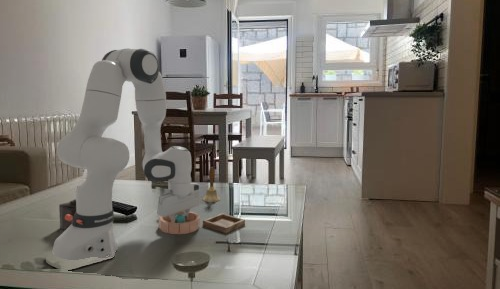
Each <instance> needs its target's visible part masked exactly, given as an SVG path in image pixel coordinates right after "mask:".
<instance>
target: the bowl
mask: <svg viewBox="0 0 500 289" xmlns="http://www.w3.org/2000/svg"><path fill="white" fill-rule="evenodd" d="M178 214H181V215H183V214H184V211H182V212H179V213H176V214H175V216H176V215H178ZM175 216H174V218H175ZM200 220H201V216H200V215H199V214H198V213H196V212H194V211H191V210H190V212H189V214H188V219H187V220H185V223H171V219H170V217H169V216H167V217H161V216H159V217H158V228H159V231H161V232H163V233H166V234H169V235H187V234H191V233H194V232H196V231H197V230H199V229H200V226H201V225H200V224H201V221H200Z"/></svg>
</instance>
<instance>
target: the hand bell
mask: <svg viewBox="0 0 500 289" xmlns="http://www.w3.org/2000/svg"><path fill="white" fill-rule="evenodd" d="M208 176H209V187H208V188H207V189H206V193H205V195H204V197H203V198H202V200H203V202H206V203H217V202H219V201H220V200H221V198H220V197H219V196H218V193H217V192H218V191H217V188H215V187H214V179H215V169H214V166H211V167H210V168H209V172H208Z"/></svg>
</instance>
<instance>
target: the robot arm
mask: <svg viewBox="0 0 500 289" xmlns="http://www.w3.org/2000/svg"><path fill="white" fill-rule="evenodd" d="M90 70H91V71H90V73H89V75H88V79H87V82H86V87H85V92H84V98H83V102H82V107H81V111H80V114H79V117H78V119H77V121H76V123H75V124H74V126H73V127H72V129H71V130H70V132H68V133H66V135H65V136H63V137H62V138H61V139H60V140H59V142H58V143H57V146H56V147H57V148H56V155H57V158H58V159H59V160H60V161H61V162H62V163H63V164H66V165H68V166H70V167H72V168H78V169H84V170H86V171H87V173H86V178H85V180H84V181H83V182H81V183H80V184H79V185H78V187H76V190H75V199H76V212H75V214H74V217H73V216H72V215H70V214H67V215H66V216H65V219H66V220H68V221H72V224H71V225H70V226H69V227H68V228H67V229H66V230H63V232H62V233H61V234H60V235H59V236H58V237H57V238H55V240H54V243H53V246H52V247H53V248H52V253H53V255H55V256H58V257H60V258H63V259H67V260H79V259H85V258H90V257H98V258H108V257H113V256H115V257H116V253H115V251H116V250H117V249H118V250H119V246H118V245H117V241H116V236H115V231H114V220H115V216H114V208H113V187H114V183H115V180H116V179H117V176H118V175H119V173H120V172H122V171H123V170H124V169H126V167H127V165H128V163H129V162H130V150H129V147H128V146H127V145H126V143H124V142H122V141H120V140H117V139H114V138H113V137H112V138H111V137H105V136H103V135H104V132H105V131H106V130H107V128H109V127H110V126H111V125H113V124H115V123H116V122H117V120H118V116H119V112H120V111H119V110H120V106H121V104H120V103H121V101H122V100H121V99H122V92H123V87H124V83H125V82H130V83H132V84H133V87H134V101H135V107H136V112H137V116H138V119H139V121H140V123H141V126H142V128H143V129H142V130H143V135H144V137H143V138H144V139H143V140H144V152H143V154H142V155H143V156H142V159H141V162H140V163H141V168H142V169H143V173H144V176H145V177H146V179H147V180H148V181H151V182H152V183H153V182H154V183H160V182H165V181H167V184H168V186H167V187H168V188H167V191H164V192H163V191H162V192H161V194H160V195H159V196H158V202H157V210H156V211H157V215H158V216H159V217H160V216H161V217H167V216H169V217H170V219H171V223H177V219H175V218H174V216H175V214H176V213H179V212H182V211H184V214H183V216H184V217H185V220H187V219H188V214H189V212H190V211H191V209H193V208H195V207H199V205H200V204H201V197H202V196H201V191H200V190H201V184H199V183H196V182H193V181H192V177H191V172H192V168H193V167H192V155H191V152H190V151H189V149H187V148H186V147H183V146H179V145H173V146H170V147H169V148H167V149H166V150H165V151H163V149H162V137H161V129H162V128H161V126H162V123H163V121H164V120H165V118H166V115H167V93H166V88H165V82H164V79H163V75H162V74H161V71H159V70H160V64H159V61H158V58H157V55H155V53H154V52H153V51H152V50H149V49H145V48H123V49H122V48H121V49H113V50H111V51H108V52H106V54H104V56H103V57H102V59H101V60H98V61H96V62H95V63H94V64H93V66H92V68H91V69H90ZM118 250H117V251H118ZM108 255H109V256H108ZM106 256H108V257H106Z"/></svg>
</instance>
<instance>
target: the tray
mask: <svg viewBox="0 0 500 289" xmlns="http://www.w3.org/2000/svg"><path fill="white" fill-rule="evenodd" d="M245 225H246V219H243V218H240V217H237V216H233V215H230V214H226V213H223V212H221V213H218V214H216V215H213V216H211V217H209V218H206V219H203V220H202V226H203V227H205V228H208V229H212V230H214V231H218V232H222V233H223V234H227V233H230V232H233V231H235V230H237V229H238V228H241V227H243V226H245Z"/></svg>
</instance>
